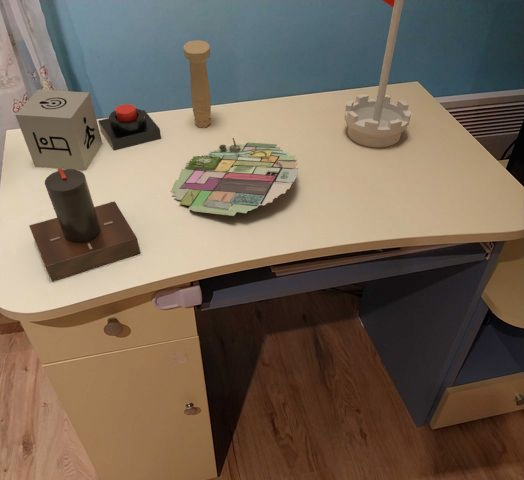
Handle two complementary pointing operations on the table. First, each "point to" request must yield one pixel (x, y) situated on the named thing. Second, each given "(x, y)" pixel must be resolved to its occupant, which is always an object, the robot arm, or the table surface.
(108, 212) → the panel
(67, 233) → the knob
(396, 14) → the flag stand
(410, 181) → the table surface
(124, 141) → the button box
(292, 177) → the city model
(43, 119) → the icon cube
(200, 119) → the handle
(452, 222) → the table surface
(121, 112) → the button
